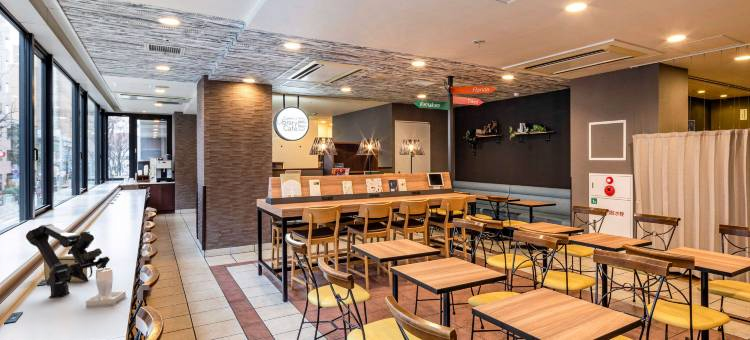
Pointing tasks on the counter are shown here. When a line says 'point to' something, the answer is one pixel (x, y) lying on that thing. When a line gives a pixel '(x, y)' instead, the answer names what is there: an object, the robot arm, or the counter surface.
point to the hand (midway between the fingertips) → (97, 278)
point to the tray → (106, 300)
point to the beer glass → (104, 283)
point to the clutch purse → (69, 261)
